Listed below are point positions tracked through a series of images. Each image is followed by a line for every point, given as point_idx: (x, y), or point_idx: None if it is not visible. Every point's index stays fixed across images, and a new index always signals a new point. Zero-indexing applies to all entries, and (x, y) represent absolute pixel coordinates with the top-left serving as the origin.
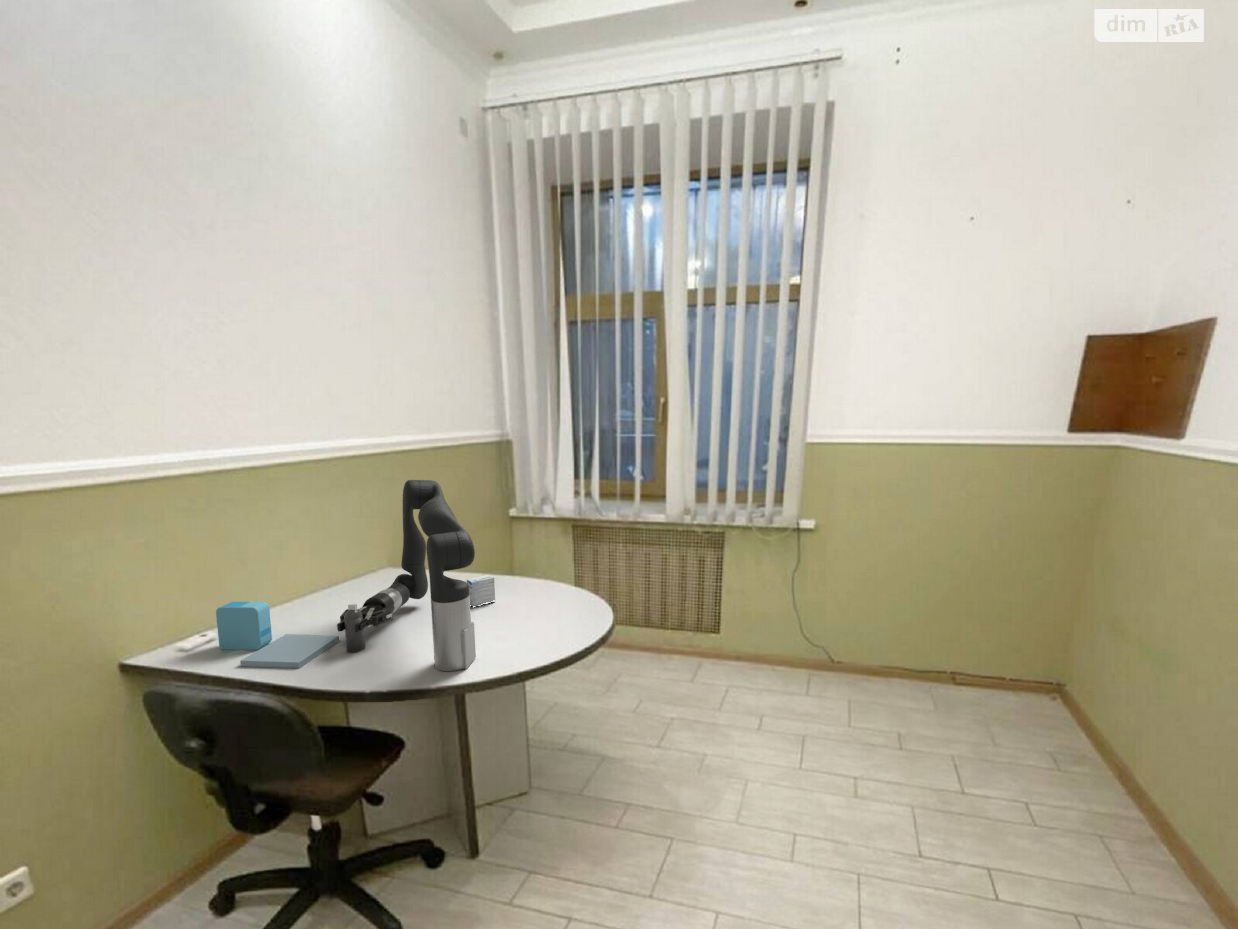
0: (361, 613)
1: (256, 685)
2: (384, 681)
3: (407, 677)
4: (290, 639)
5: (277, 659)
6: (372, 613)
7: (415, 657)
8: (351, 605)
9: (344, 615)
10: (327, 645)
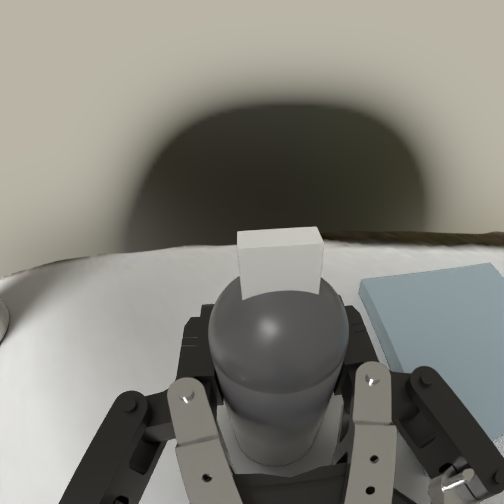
0: (211, 337)
1: (370, 237)
2: (96, 275)
3: (56, 289)
4: None
5: (433, 279)
6: (184, 472)
7: (37, 368)
8: (277, 233)
9: (426, 395)
10: None
